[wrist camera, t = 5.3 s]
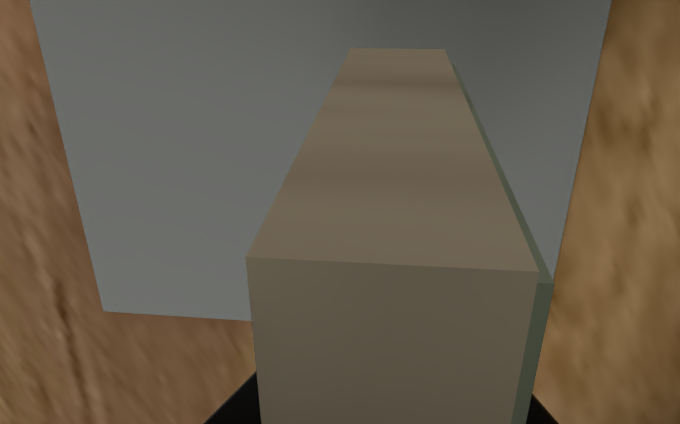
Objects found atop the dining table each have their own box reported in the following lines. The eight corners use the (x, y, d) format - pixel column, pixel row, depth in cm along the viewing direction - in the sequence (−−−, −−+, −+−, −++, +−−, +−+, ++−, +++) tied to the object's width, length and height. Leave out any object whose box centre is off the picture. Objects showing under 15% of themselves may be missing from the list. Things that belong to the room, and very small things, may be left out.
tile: (423, 400, 13) (445, 844, 6) (348, 395, 13) (298, 823, 7) (454, 49, 9) (571, 272, 3) (350, 48, 9) (245, 256, 3)
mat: (633, -142, 15) (641, -145, 14) (537, 330, 22) (540, 339, 21) (10, -134, 16) (-3, -136, 16) (110, 302, 23) (103, 311, 23)
